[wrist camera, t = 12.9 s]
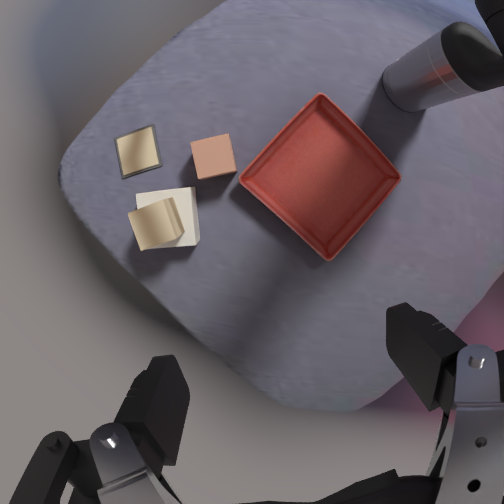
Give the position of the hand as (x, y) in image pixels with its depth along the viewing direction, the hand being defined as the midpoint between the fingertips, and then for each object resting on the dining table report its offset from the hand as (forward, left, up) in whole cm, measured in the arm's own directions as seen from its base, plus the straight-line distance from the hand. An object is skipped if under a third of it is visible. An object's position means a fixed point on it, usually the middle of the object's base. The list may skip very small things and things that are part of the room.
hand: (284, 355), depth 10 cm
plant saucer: (-11, -5, -34) cm, 36 cm away
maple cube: (+12, -4, -30) cm, 32 cm away
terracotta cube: (+3, -10, -33) cm, 35 cm away
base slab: (+12, -4, -34) cm, 36 cm away
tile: (+15, -15, -33) cm, 39 cm away
